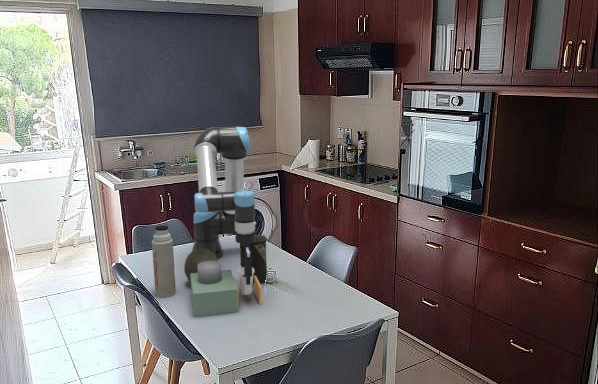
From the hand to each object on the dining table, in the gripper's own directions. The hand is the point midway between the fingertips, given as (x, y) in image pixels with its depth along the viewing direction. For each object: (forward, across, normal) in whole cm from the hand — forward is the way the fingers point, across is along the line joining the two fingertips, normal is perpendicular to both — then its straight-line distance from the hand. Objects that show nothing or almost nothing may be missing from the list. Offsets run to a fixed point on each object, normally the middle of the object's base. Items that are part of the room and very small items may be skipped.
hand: (246, 288), depth 192 cm
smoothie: (+2, 0, 0) cm, 2 cm away
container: (+5, +17, -7) cm, 19 cm away
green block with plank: (+5, 0, +8) cm, 9 cm away
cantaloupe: (+5, +20, +16) cm, 26 cm away
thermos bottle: (+5, +14, +31) cm, 34 cm away
